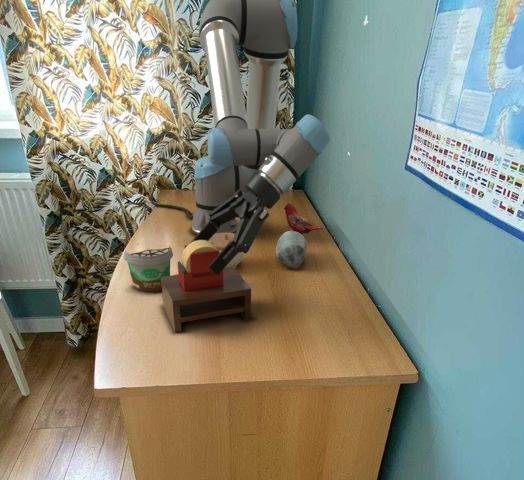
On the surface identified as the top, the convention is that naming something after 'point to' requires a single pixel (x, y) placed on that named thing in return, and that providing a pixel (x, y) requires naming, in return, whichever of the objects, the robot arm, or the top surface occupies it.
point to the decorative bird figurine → (298, 221)
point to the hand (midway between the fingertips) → (203, 258)
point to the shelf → (206, 299)
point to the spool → (291, 249)
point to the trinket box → (220, 243)
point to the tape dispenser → (198, 266)
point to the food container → (149, 268)
